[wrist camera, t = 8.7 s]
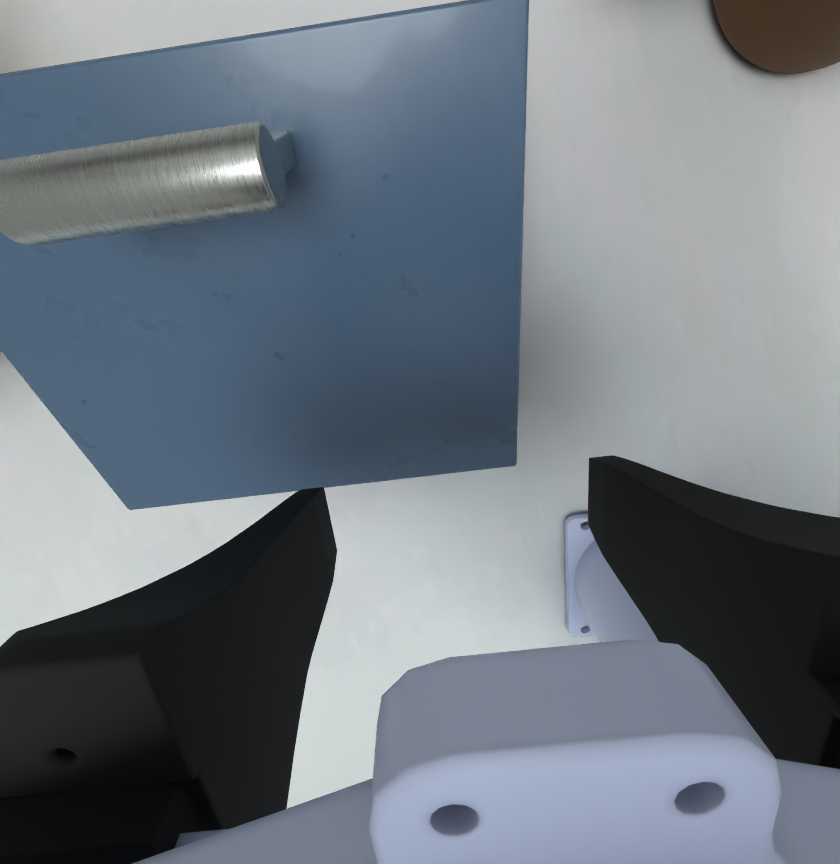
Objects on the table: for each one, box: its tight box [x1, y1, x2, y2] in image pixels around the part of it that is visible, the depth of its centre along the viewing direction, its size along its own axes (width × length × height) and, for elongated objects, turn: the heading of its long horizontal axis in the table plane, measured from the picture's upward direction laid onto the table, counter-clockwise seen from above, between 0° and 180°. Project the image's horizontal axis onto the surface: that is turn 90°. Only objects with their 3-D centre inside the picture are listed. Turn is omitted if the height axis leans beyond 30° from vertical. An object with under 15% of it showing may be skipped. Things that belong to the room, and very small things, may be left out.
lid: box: [0, 0, 529, 510], centre depth 12 cm, size 13×15×4 cm
